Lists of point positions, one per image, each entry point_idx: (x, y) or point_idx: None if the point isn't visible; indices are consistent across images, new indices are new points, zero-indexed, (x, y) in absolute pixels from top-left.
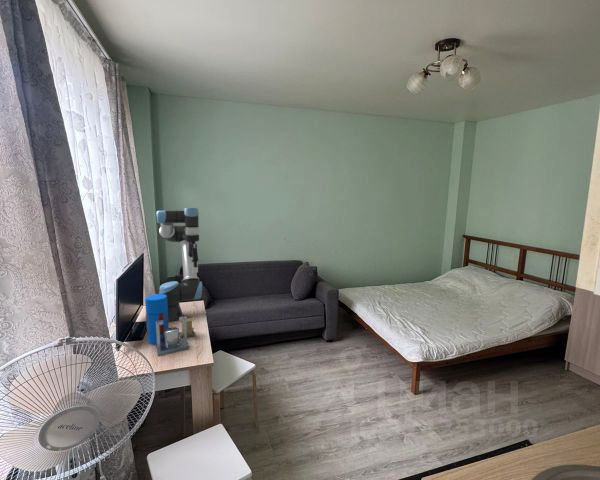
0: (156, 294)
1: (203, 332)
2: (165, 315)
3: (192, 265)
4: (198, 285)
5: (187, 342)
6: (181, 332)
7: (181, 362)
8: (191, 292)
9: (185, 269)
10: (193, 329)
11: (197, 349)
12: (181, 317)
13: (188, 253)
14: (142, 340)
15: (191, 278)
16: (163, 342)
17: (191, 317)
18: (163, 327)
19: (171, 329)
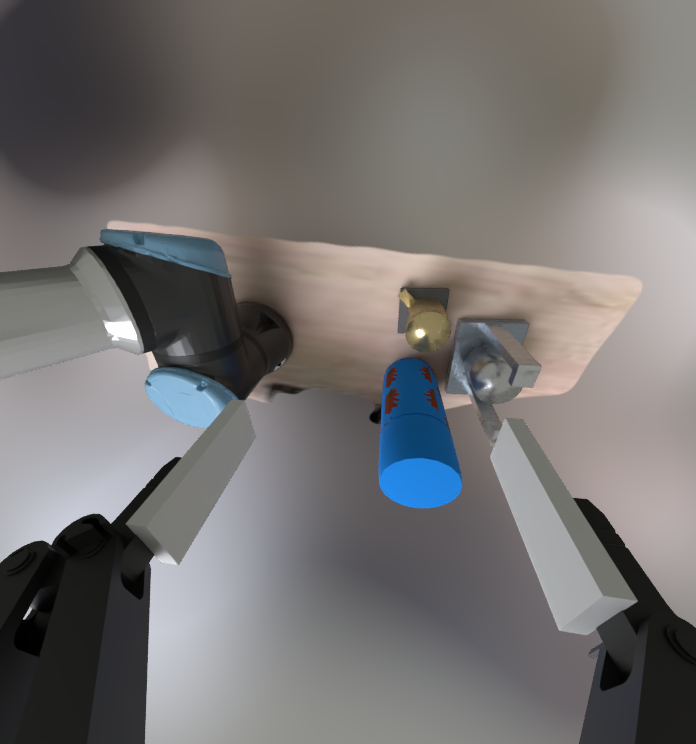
0: (382, 479)
1: (427, 255)
2: (441, 413)
3: (236, 432)
4: (174, 263)
5: (501, 324)
6: (401, 326)
7: (585, 348)
8: (223, 299)
9: (42, 362)
10: (407, 291)
11: (544, 297)
12: (520, 379)
13: (46, 613)
14: None
15: (133, 314)
16: (454, 378)
17: (423, 314)
18: (440, 396)
19: (492, 386)
